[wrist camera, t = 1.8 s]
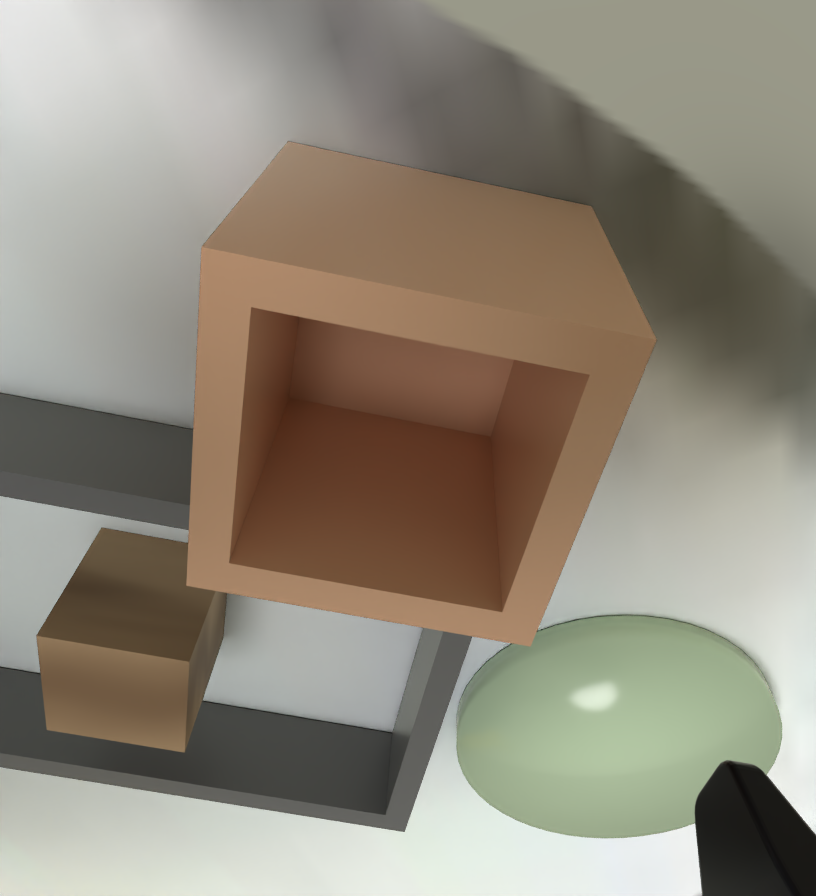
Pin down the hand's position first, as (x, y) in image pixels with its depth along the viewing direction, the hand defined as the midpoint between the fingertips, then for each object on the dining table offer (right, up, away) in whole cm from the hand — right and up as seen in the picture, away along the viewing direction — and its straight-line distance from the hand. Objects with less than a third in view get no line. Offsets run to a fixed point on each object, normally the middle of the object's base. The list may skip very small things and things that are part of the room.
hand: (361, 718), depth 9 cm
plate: (+8, -7, +18) cm, 21 cm away
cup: (+1, +7, +10) cm, 12 cm away
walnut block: (-7, -1, +16) cm, 17 cm away
